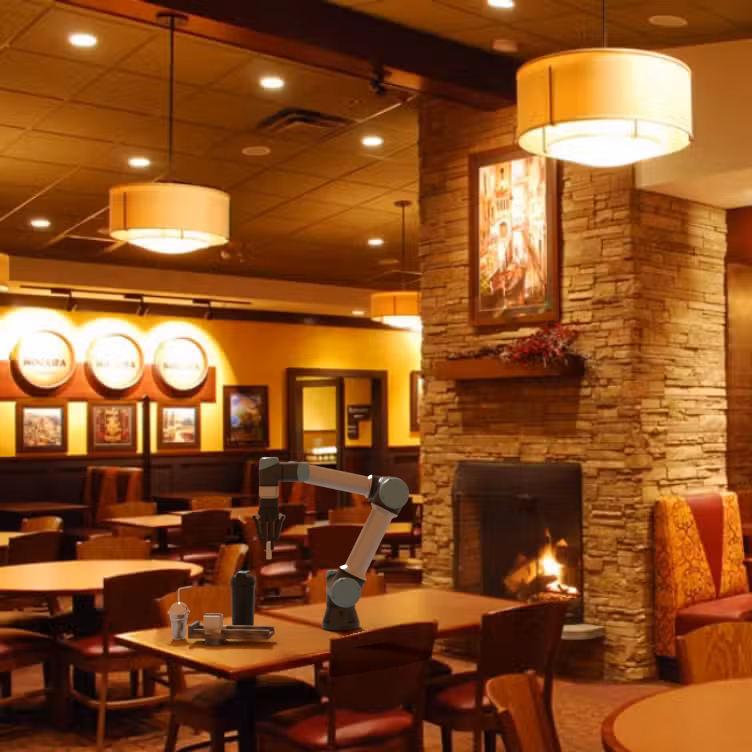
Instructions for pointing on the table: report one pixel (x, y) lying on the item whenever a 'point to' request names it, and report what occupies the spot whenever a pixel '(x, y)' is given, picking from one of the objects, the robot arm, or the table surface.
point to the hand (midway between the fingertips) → (269, 558)
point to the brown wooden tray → (229, 633)
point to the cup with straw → (179, 617)
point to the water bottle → (243, 598)
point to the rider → (213, 621)
